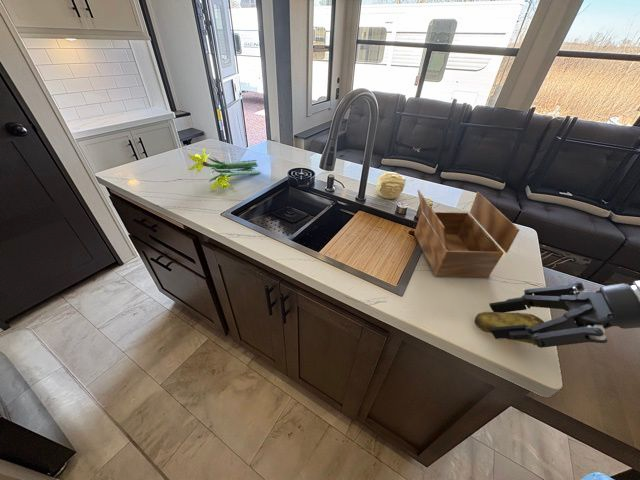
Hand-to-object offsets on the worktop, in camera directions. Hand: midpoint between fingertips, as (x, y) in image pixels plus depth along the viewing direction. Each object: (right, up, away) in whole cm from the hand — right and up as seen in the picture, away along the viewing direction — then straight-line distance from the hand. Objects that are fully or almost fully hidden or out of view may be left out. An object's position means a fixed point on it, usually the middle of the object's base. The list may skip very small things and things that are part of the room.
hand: (492, 320), depth 59 cm
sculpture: (-10, +39, +55) cm, 68 cm away
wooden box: (+2, +14, +24) cm, 28 cm away
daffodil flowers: (-82, +46, +60) cm, 111 cm away
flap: (-7, +25, +16) cm, 31 cm away
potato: (+3, -4, +1) cm, 5 cm away
